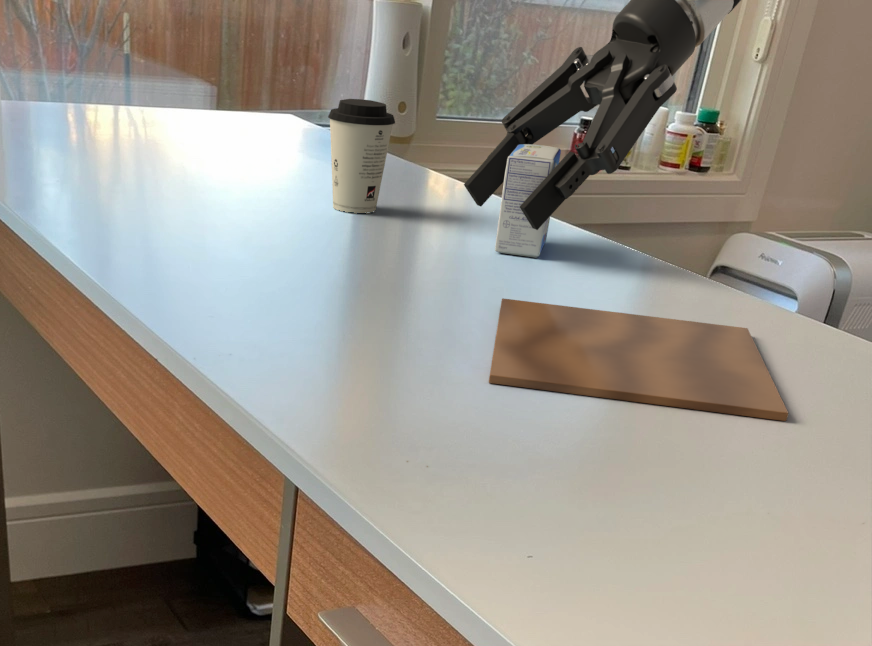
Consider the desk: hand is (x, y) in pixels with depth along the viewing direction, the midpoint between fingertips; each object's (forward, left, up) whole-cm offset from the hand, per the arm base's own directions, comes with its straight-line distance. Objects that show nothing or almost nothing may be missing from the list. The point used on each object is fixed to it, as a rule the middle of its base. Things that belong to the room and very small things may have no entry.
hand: (499, 206), depth 107 cm
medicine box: (-3, -2, -4) cm, 5 cm away
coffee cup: (+15, -11, -4) cm, 19 cm away
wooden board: (-12, +30, -4) cm, 33 cm away
